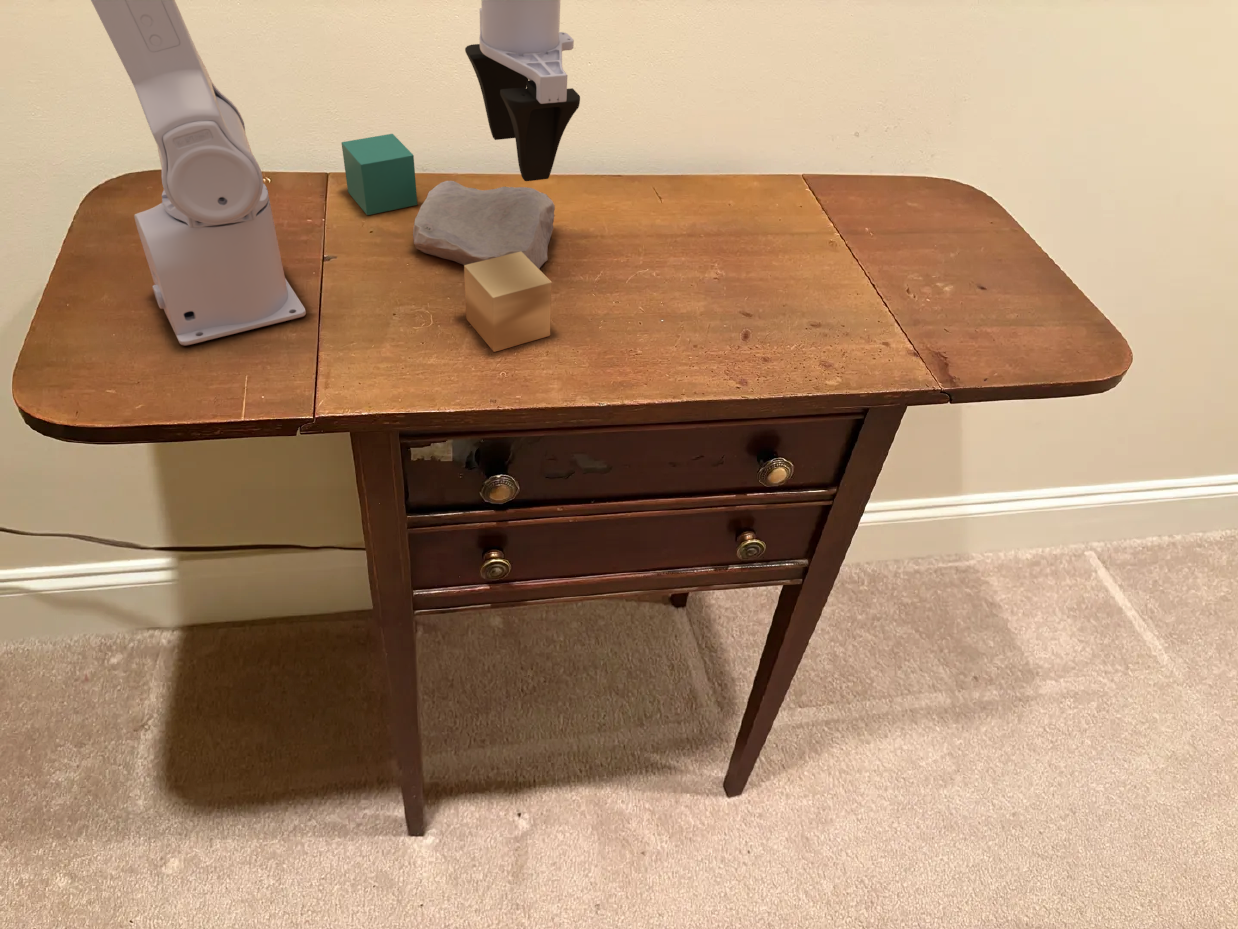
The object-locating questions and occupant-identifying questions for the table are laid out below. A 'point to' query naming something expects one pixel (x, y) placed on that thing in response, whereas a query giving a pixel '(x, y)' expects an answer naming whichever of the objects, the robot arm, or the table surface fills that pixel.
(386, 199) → the teal block
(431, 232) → the stone block
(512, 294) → the maple block
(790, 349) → the table surface
